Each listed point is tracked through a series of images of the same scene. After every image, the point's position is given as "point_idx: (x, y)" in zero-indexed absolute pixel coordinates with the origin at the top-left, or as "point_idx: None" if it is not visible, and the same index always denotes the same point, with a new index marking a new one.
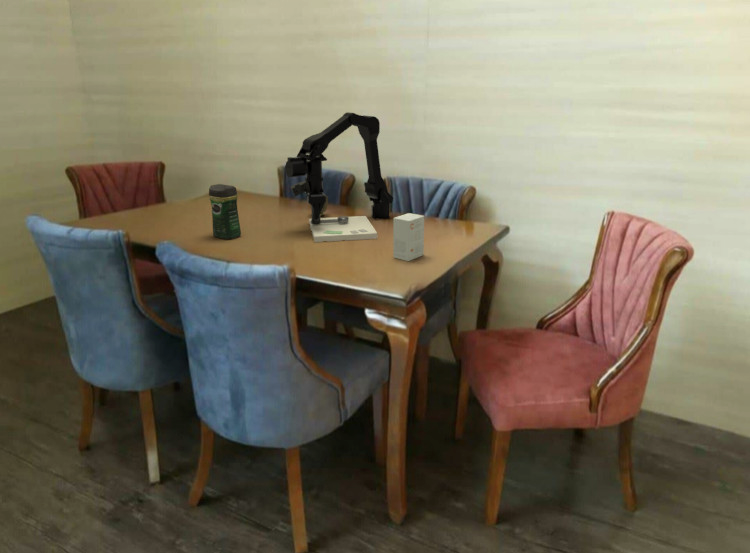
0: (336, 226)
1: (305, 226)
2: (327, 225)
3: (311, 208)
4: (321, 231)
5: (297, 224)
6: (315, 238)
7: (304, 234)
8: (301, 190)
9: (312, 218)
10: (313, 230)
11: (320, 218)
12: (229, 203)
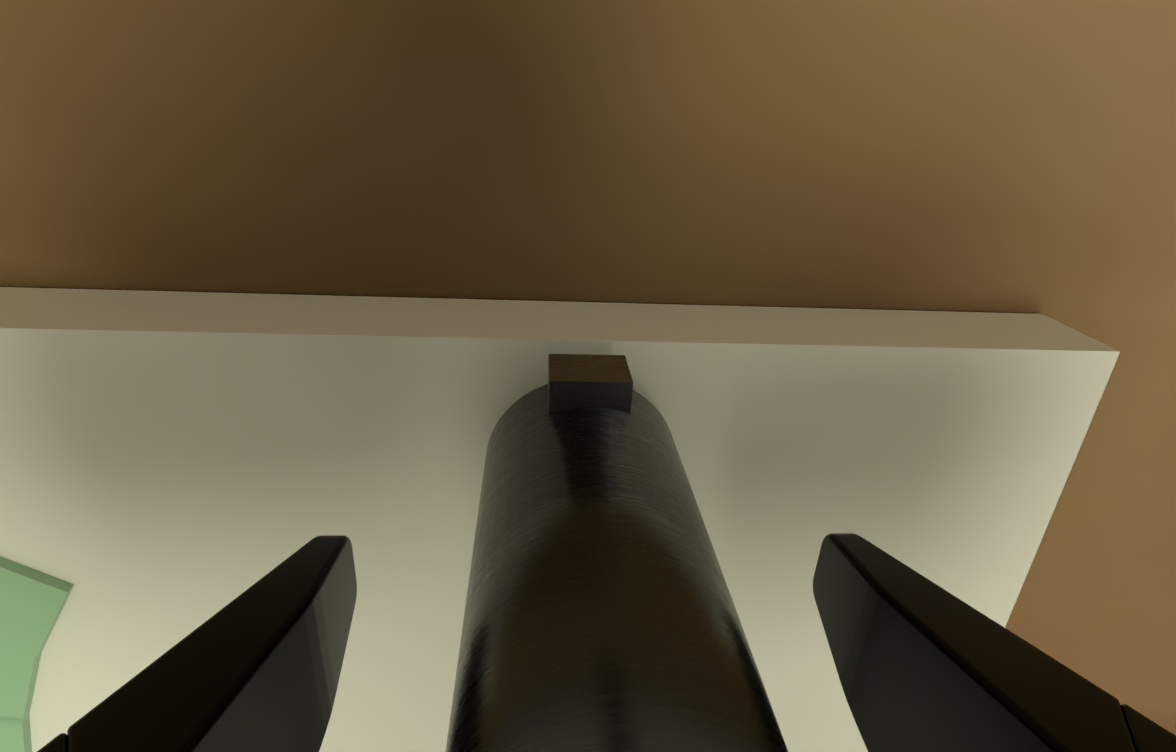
0: (387, 723)
1: (895, 225)
2: None
3: (572, 683)
4: (26, 492)
5: (1125, 72)
6: None
7: (291, 137)
8: None
9: (534, 459)
10: (103, 350)
11: (1011, 549)
12: None
